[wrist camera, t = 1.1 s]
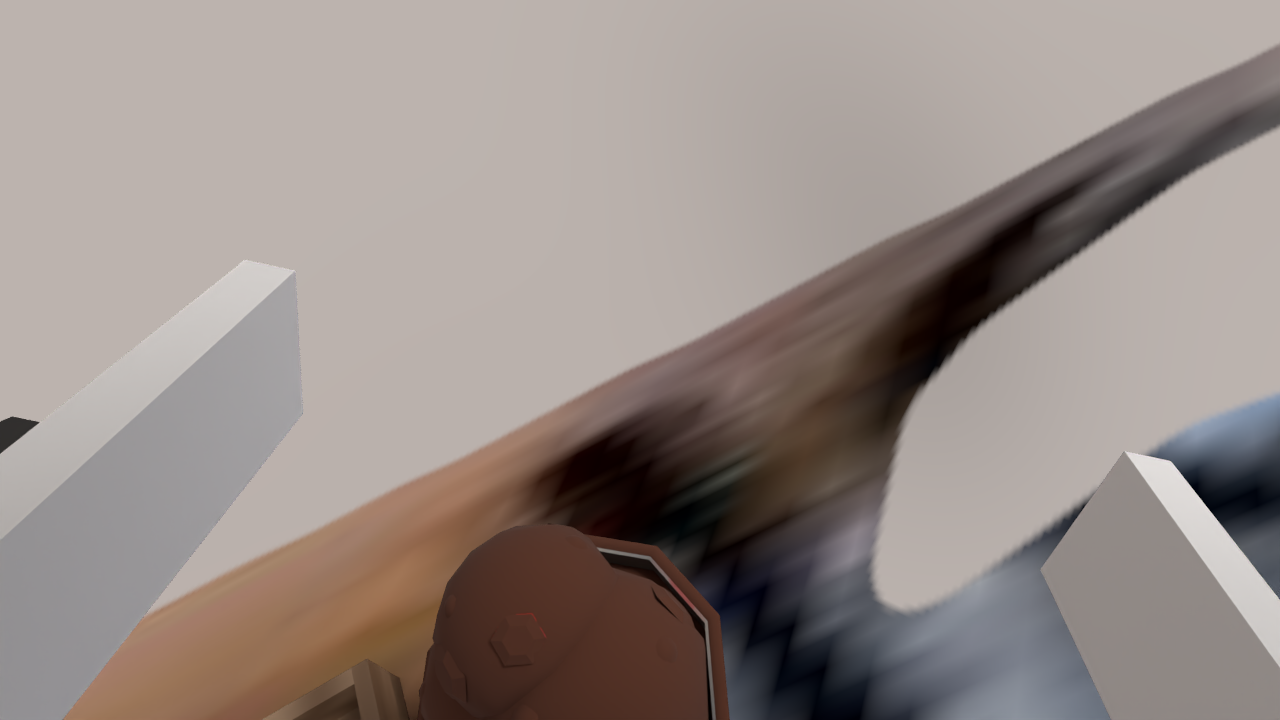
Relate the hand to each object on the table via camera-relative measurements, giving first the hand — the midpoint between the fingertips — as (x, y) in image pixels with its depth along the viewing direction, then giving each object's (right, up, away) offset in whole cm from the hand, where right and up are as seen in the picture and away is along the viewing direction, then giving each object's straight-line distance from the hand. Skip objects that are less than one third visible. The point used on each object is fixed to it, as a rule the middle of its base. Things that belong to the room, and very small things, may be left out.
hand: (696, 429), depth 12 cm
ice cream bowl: (-1, -16, +20) cm, 25 cm away
